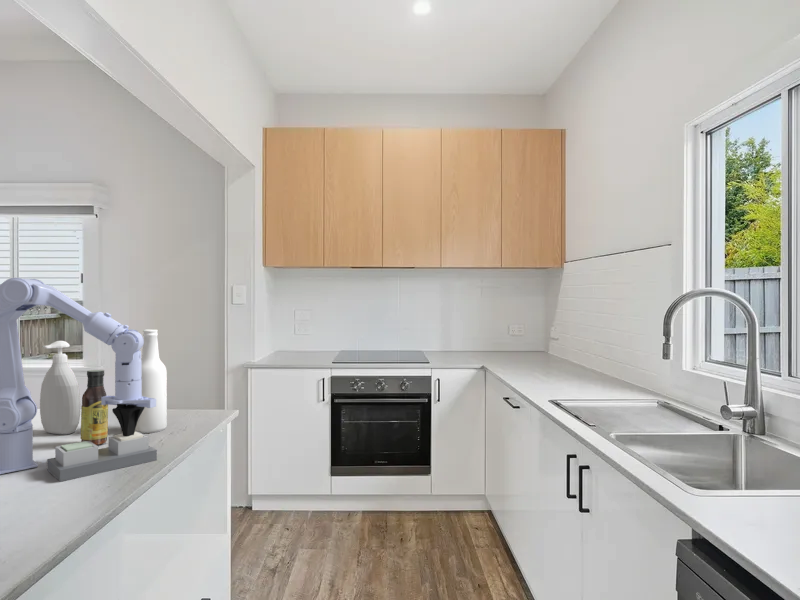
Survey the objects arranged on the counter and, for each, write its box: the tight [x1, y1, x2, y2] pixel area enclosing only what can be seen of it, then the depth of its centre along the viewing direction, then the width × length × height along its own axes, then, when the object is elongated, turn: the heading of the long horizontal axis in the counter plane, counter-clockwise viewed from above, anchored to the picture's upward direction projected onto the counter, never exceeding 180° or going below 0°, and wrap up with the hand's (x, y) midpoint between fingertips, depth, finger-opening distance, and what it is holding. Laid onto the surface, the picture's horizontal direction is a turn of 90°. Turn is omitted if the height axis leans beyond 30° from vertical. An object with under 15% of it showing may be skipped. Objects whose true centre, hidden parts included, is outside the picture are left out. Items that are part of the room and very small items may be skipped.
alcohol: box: [135, 328, 168, 434], centre depth 151 cm, size 9×9×30 cm
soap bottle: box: [39, 340, 81, 435], centre depth 148 cm, size 14×8×27 cm, turn 70°
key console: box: [46, 432, 158, 483], centre depth 120 cm, size 11×20×6 cm, turn 137°
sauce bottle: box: [80, 369, 109, 446], centre depth 137 cm, size 7×6×20 cm
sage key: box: [60, 441, 93, 452], centre depth 116 cm, size 5×5×2 cm
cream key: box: [113, 431, 143, 442], centre depth 124 cm, size 5×5×2 cm
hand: (128, 435), depth 124 cm, fingers closed, pressing on cream key
